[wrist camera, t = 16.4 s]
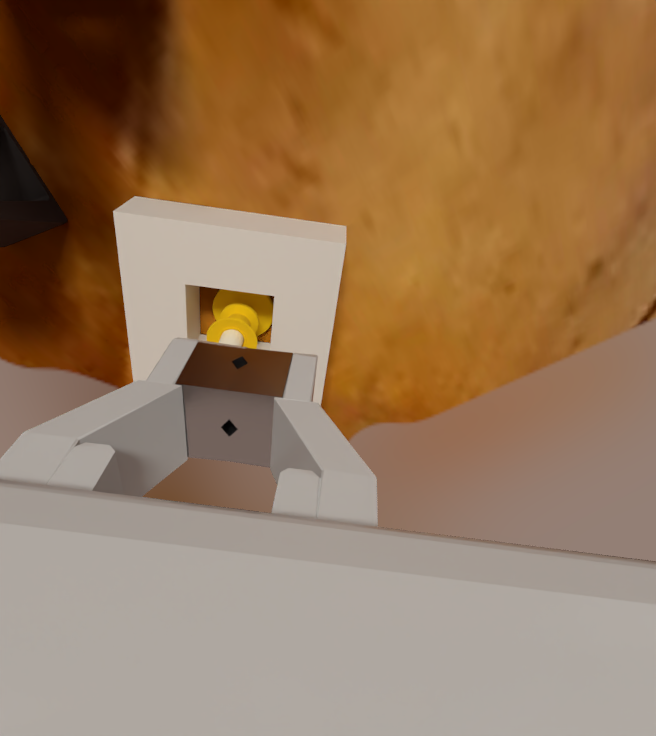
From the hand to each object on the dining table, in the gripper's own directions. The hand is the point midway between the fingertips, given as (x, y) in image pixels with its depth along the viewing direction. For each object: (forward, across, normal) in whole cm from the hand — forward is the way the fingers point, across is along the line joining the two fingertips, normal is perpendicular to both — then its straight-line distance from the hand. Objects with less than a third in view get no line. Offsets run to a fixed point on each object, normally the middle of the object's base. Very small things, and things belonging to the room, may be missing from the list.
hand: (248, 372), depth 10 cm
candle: (+28, +6, +14) cm, 31 cm away
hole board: (+28, +6, +14) cm, 31 cm away
